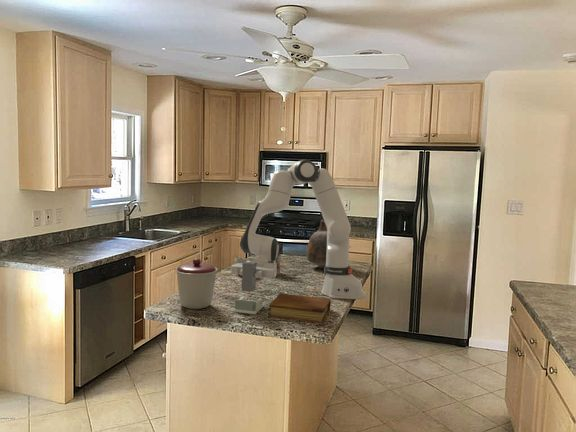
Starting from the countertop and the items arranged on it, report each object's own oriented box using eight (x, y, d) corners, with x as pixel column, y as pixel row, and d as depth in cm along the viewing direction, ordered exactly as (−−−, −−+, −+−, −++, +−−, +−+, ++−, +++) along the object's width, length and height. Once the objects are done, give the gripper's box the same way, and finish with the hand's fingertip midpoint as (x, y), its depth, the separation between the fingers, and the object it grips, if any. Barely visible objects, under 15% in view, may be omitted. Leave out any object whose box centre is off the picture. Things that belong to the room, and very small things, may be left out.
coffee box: (266, 275, 268) (267, 247, 266) (261, 272, 273) (262, 245, 272) (280, 274, 272) (281, 246, 270) (275, 271, 278) (276, 244, 276)
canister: (208, 314, 196) (209, 264, 194) (167, 310, 199) (168, 261, 197) (222, 301, 214) (223, 256, 211) (184, 298, 217) (185, 253, 214)
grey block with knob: (255, 288, 206) (256, 260, 204) (251, 291, 201) (252, 262, 199) (245, 287, 207) (246, 259, 205) (241, 290, 202) (242, 261, 200)
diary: (330, 311, 209) (330, 298, 208) (322, 324, 191) (323, 310, 190) (280, 304, 214) (280, 292, 214) (268, 317, 196) (269, 303, 196)
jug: (348, 268, 294) (351, 220, 290) (332, 274, 276) (335, 223, 272) (314, 262, 307) (316, 217, 303) (297, 268, 289) (299, 219, 285)
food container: (230, 275, 264) (231, 258, 263) (235, 273, 269) (236, 256, 268) (250, 278, 259) (250, 260, 258) (255, 276, 265) (255, 258, 264)
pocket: (263, 306, 209) (263, 295, 208) (255, 314, 198) (255, 302, 198) (242, 304, 211) (242, 293, 211) (233, 311, 201) (233, 300, 200)
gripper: (237, 258, 218) (226, 264, 204) (279, 263, 213) (271, 269, 199) (236, 272, 218) (225, 278, 205) (279, 276, 213) (270, 284, 200)
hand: (248, 274), depth 202 cm, fingers closed on grey block with knob, 5 cm apart
